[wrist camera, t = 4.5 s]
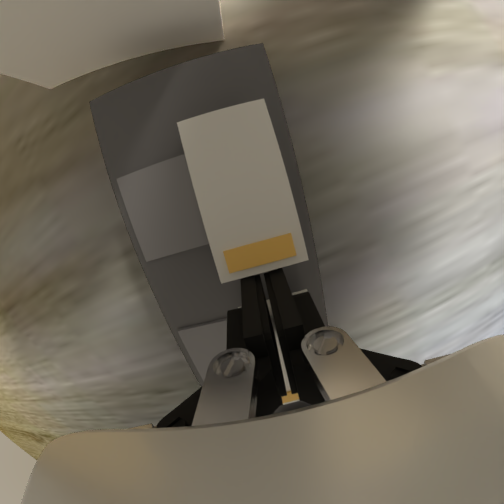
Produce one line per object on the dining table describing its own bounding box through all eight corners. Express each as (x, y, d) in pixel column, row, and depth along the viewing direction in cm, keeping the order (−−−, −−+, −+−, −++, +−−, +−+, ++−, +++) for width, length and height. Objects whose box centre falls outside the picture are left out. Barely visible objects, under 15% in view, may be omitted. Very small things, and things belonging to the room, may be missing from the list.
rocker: (185, 132, 11) (176, 121, 9) (262, 110, 10) (264, 97, 9) (224, 274, 11) (221, 284, 10) (301, 253, 11) (309, 260, 10)
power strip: (120, 110, 14) (87, 101, 10) (255, 67, 13) (263, 41, 9) (255, 442, 25) (258, 475, 21) (330, 424, 24) (341, 456, 20)
